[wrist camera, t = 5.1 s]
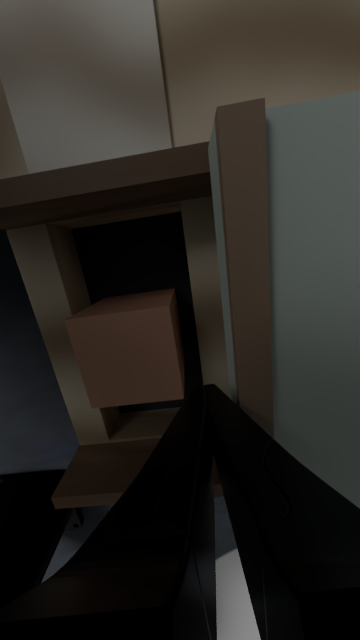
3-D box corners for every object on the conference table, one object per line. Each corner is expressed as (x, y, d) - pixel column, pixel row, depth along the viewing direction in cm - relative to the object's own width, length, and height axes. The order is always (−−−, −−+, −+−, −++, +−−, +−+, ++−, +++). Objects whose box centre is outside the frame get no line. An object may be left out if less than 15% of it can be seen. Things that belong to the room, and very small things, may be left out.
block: (184, 352, 15) (184, 398, 10) (121, 360, 15) (91, 408, 10) (174, 287, 14) (169, 305, 9) (105, 297, 14) (64, 320, 9)
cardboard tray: (339, 402, 16) (421, 481, 10) (97, 426, 17) (55, 509, 11) (373, -57, 9) (647, -511, 4) (-23, 34, 10) (-253, -210, 5)
